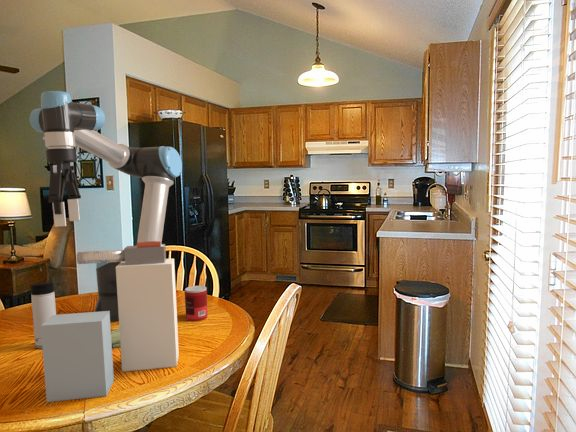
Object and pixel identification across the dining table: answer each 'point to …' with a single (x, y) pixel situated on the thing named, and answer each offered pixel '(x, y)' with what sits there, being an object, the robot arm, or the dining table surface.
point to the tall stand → (147, 315)
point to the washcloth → (115, 338)
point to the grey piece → (127, 254)
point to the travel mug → (42, 307)
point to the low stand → (77, 355)
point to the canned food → (196, 303)
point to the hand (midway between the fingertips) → (68, 223)
